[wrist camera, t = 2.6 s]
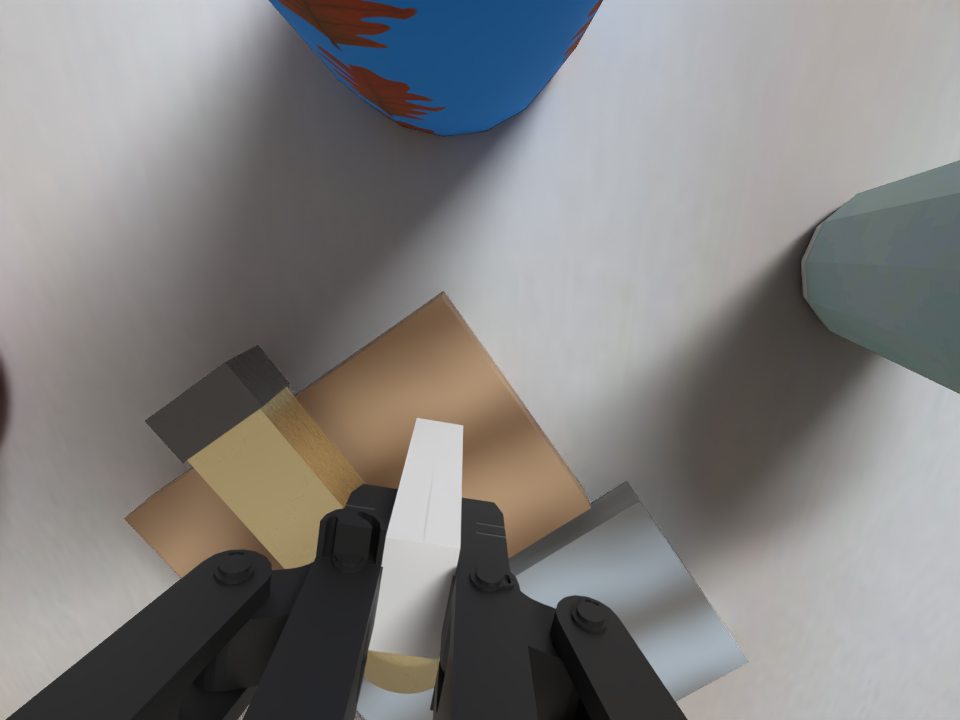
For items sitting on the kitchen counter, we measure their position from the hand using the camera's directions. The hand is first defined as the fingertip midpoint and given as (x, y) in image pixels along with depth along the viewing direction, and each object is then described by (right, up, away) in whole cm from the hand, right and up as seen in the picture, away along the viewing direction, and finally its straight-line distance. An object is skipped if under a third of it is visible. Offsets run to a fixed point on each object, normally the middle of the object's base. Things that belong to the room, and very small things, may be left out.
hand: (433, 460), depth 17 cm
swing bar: (-5, -3, +7) cm, 9 cm away
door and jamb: (0, -8, +11) cm, 13 cm away
